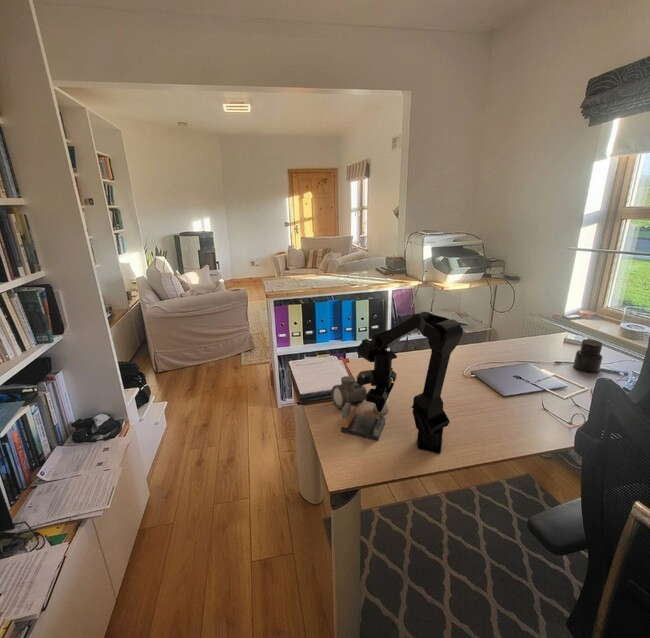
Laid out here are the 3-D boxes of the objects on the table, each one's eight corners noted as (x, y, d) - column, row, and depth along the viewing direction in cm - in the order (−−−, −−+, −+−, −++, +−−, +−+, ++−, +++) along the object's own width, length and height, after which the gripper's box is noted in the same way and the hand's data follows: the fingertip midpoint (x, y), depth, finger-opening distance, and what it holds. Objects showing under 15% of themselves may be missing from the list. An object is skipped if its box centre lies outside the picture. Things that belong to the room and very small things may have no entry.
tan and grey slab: (355, 414, 118) (355, 397, 116) (347, 427, 111) (347, 410, 109) (349, 412, 118) (349, 396, 116) (341, 426, 112) (341, 409, 109)
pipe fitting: (340, 412, 121) (342, 384, 119) (329, 402, 128) (331, 376, 126) (369, 406, 126) (371, 380, 124) (357, 397, 133) (359, 372, 131)
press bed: (384, 424, 115) (385, 415, 114) (377, 440, 107) (378, 431, 106) (350, 416, 119) (350, 407, 118) (341, 431, 112) (341, 422, 111)
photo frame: (543, 368, 148) (589, 387, 132) (542, 370, 148) (588, 390, 133) (519, 376, 142) (564, 397, 126) (519, 378, 142) (564, 400, 127)
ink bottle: (589, 363, 153) (595, 337, 149) (605, 373, 144) (612, 346, 140) (567, 364, 152) (573, 338, 148) (582, 373, 144) (588, 347, 140)
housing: (389, 407, 123) (390, 395, 122) (386, 415, 119) (387, 402, 117) (375, 404, 125) (376, 392, 124) (372, 412, 121) (372, 399, 119)
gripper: (367, 352, 128) (366, 390, 133) (350, 375, 112) (350, 417, 117) (397, 357, 124) (395, 395, 129) (385, 381, 107) (383, 424, 113)
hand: (381, 407), depth 122 cm, fingers closed on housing, 5 cm apart
